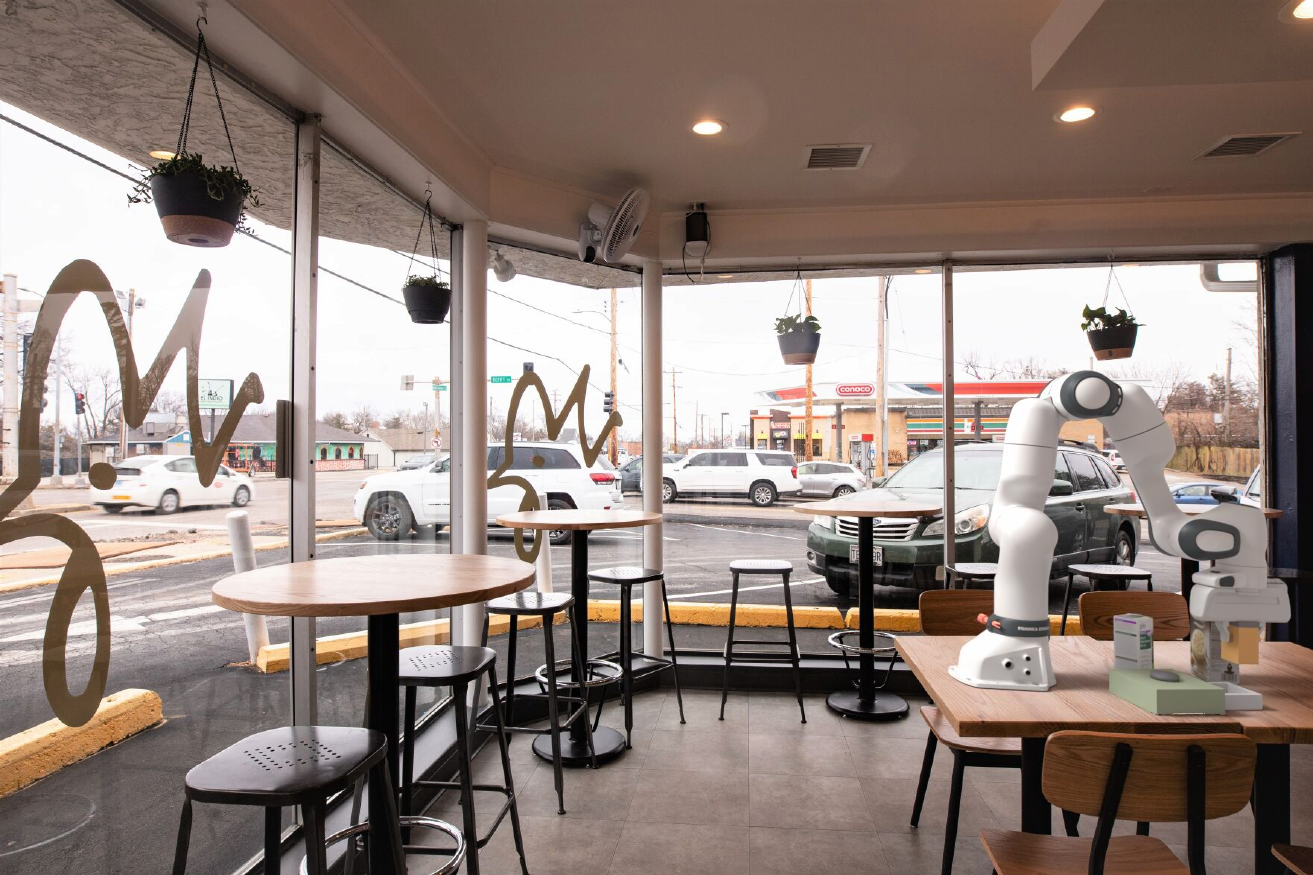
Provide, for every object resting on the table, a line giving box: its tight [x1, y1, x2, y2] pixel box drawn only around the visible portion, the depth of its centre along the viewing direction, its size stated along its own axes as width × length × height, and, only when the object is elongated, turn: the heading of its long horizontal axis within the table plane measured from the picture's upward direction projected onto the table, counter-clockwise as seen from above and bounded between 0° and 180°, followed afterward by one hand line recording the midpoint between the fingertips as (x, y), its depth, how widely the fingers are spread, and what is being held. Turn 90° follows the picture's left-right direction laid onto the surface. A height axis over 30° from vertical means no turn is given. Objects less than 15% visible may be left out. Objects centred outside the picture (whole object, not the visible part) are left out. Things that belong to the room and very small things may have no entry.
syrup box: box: [1113, 613, 1155, 669], centre depth 169 cm, size 6×6×14 cm
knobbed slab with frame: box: [1108, 668, 1264, 716], centre depth 153 cm, size 24×14×6 cm, turn 93°
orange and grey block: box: [1221, 621, 1260, 665], centre depth 160 cm, size 5×5×9 cm
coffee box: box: [1189, 612, 1240, 686], centre depth 171 cm, size 9×6×16 cm
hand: (1239, 642), depth 160 cm, fingers closed on orange and grey block, 4 cm apart
